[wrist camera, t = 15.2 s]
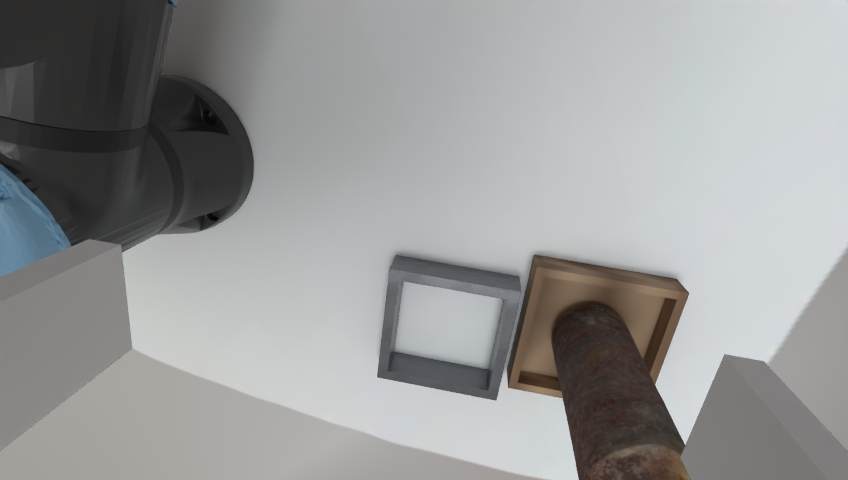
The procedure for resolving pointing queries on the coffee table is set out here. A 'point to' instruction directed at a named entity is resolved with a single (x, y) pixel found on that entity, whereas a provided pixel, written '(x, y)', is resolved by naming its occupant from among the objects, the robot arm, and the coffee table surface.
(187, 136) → the robot arm
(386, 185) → the coffee table surface
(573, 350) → the rusty brown cylinder
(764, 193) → the coffee table surface
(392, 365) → the collar
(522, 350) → the tray
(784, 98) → the coffee table surface
